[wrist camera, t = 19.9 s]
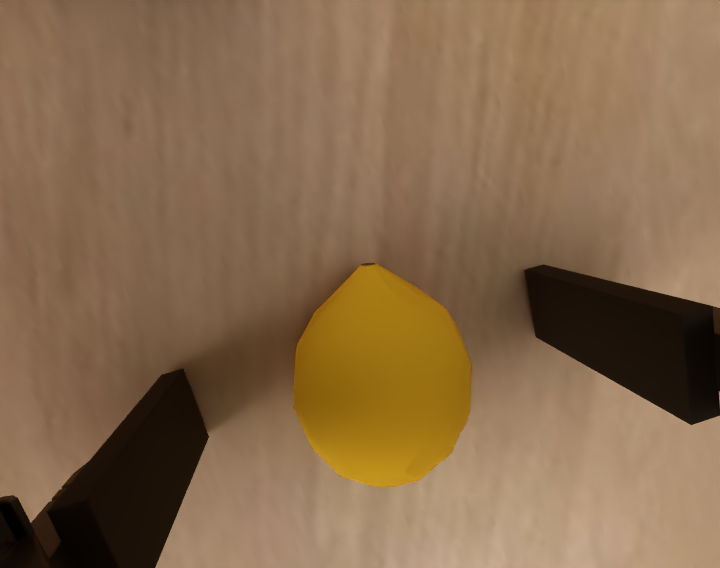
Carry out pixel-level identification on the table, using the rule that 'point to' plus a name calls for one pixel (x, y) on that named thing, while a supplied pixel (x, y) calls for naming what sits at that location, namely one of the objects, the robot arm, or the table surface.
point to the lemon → (382, 380)
